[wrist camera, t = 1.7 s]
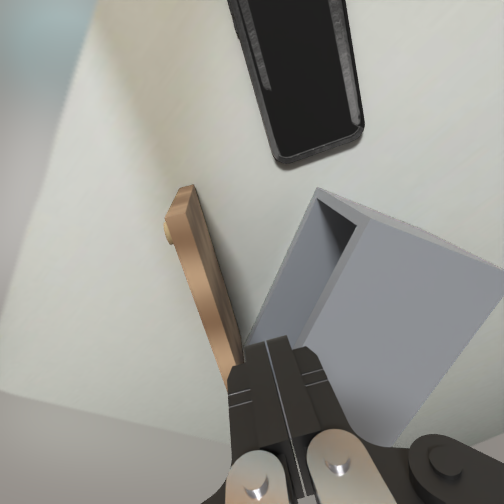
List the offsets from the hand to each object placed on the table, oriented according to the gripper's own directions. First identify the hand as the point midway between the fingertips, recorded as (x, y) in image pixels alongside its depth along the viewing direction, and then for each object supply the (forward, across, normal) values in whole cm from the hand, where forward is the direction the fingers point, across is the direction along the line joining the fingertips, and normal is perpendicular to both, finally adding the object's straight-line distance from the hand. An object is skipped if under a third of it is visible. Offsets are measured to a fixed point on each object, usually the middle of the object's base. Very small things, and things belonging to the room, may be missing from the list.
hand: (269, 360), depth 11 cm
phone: (+19, -8, -11) cm, 23 cm away
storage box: (+18, -8, +10) cm, 22 cm away
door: (+18, +4, +4) cm, 19 cm away
